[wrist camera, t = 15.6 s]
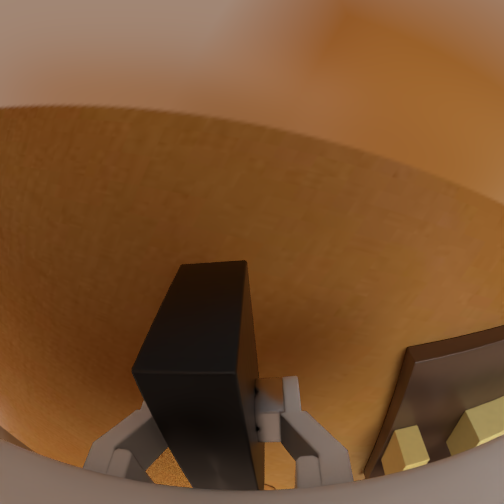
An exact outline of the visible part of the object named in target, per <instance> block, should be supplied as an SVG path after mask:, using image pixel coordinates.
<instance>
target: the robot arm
mask: <svg viewBox="0 0 504 504" xmlns="http://www.w3.org/2000/svg"><path fill="white" fill-rule="evenodd" d="M254 388H255V396H254V418H255V425H256V426H257V431H256V432H257V438H258V442H281V443H282V444H283V446H284V447H285V448H286V450H287V451H288V452H289V453H290V455H291V456H292V457H293V459H294V460H295V461H296V470H295V488H294V489H282V490H213V489H198V488H187V487H177V486H169V485H161V484H154V482H153V481H152V480H151V478H150V477H149V476H148V474H147V473H146V472H145V471H146V470H147V468H148V467H149V466H150V465H151V464H152V463H153V462H154V461H155V460H156V459H157V458H158V457H159V456H160V455H161V454H162V453H163V452H164V451H165V449H166V448H167V447H168V445H167V443H166V441H165V440H164V438H163V436H162V434H161V432H160V430H159V428H158V426H157V425H156V423H155V421H154V419H153V417H152V415H151V413H150V411H149V409H148V407H147V405H146V403H145V401H143V404H142V406H141V409H140V410H136V411H134V412H133V413H132V414H130V415H129V416H128V417H126V418H125V419H124V420H122V421H121V422H120V423H118V424H117V425H116V426H114V427H113V428H112V429H110V430H109V431H108V432H106V433H105V434H104V435H102V436H101V437H100V438H98V439H97V440H96V441H94V442H93V444H92V446H91V449H90V451H89V454H88V456H87V459H86V461H85V464H84V466H83V468H80V467H76V466H73V465H70V464H66V463H63V462H60V461H57V460H54V459H51V458H48V457H45V456H43V455H40V454H37V453H34V452H32V451H29V450H27V449H24V448H22V447H19V446H17V445H14V444H12V443H10V442H8V441H5V440H3V439H1V438H0V504H504V434H503V435H501V436H499V437H497V438H495V439H492V440H490V441H488V442H486V443H483V444H481V445H479V446H476V447H474V448H471V449H469V450H466V451H463V452H461V453H458V454H455V455H453V456H450V457H447V458H444V459H441V460H438V461H435V462H432V463H429V464H425V465H422V466H419V467H415V468H412V469H408V470H404V471H400V472H396V473H392V474H388V475H384V476H379V477H374V478H369V479H364V480H359V481H353V476H352V470H351V465H350V459H349V454H348V450H347V449H346V448H345V447H344V446H343V445H341V444H340V443H339V442H338V441H337V440H336V439H335V438H334V437H333V436H332V435H331V434H330V433H328V432H327V431H326V430H325V429H324V428H323V427H322V426H321V425H320V424H319V423H318V422H317V421H316V420H315V419H314V418H313V417H312V416H311V415H310V414H309V413H308V412H307V411H301V401H300V392H299V384H298V377H297V376H287V377H283V378H282V377H272V378H255V387H254Z"/></svg>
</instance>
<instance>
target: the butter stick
mask: <svg viewBox="0 0 504 504" xmlns="http://www.w3.org/2000/svg"><path fill="white" fill-rule="evenodd" d="M503 434H504V396H502V397H500V398H498V399H495V400H493V401H490V402H487V403H485V404H482V405H479V406H477V407H474V408H471V409H468V410H465V412H464V413H463V415H462V417H461V418H460V420H459V422H458V423H457V425H456V427H455V428H454V430H453V432H452V433H451V435H450V436H449V438H448V439H447V441H446V443H447V446H448V448H449V451H450V453H451V456H453V455H455V454H458V453H461V452H463V451H466V450H469V449H471V448H474V447H476V446H479V445H481V444H483V443H486V442H488V441H490V440H492V439H495V438H497V437H499V436H501V435H503Z"/></svg>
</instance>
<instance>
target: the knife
mask: <svg viewBox="0 0 504 504" xmlns="http://www.w3.org/2000/svg"><path fill="white" fill-rule="evenodd" d="M132 374H133V377H134V379H135V381H136V383H137V386H138V388H139V390H140V392H141V394H142V396H143V398H144V401H145V403H146V405H147V407H148V409H149V411H150V413H151V415H152V417H153V419H154V421H155V423H156V425H157V426H158V428H159V430H160V432H161V434H162V436H163V438H164V440H165V441H166V443H167V445H168V447H169V449H170V450H171V452H172V454H173V456H174V457H175V459H176V461H177V463H178V464H179V466H180V468H181V469H182V471H183V473H184V474H185V476H186V477H187V479H188V481H189V482H190V484H191V485H192V487H193V488H198V489H213V490H264V442H258V438H257V432H256V431H257V426H256V425H255V418H254V396H255V388H254V387H255V378H259V372H258V363H257V353H256V344H255V334H254V325H253V315H252V306H251V296H250V287H249V277H248V267H247V262H246V261H245V260H242V261H227V262H212V263H196V264H182V265H181V266H180V267H179V269H178V271H177V273H176V276H175V278H174V280H173V282H172V284H171V286H170V288H169V290H168V292H167V294H166V296H165V298H164V300H163V302H162V304H161V306H160V308H159V310H158V313H157V315H156V317H155V319H154V321H153V323H152V325H151V327H150V330H149V332H148V334H147V336H146V338H145V340H144V343H143V345H142V347H141V349H140V351H139V354H138V356H137V358H136V360H135V363H134V365H133V367H132Z"/></svg>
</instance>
